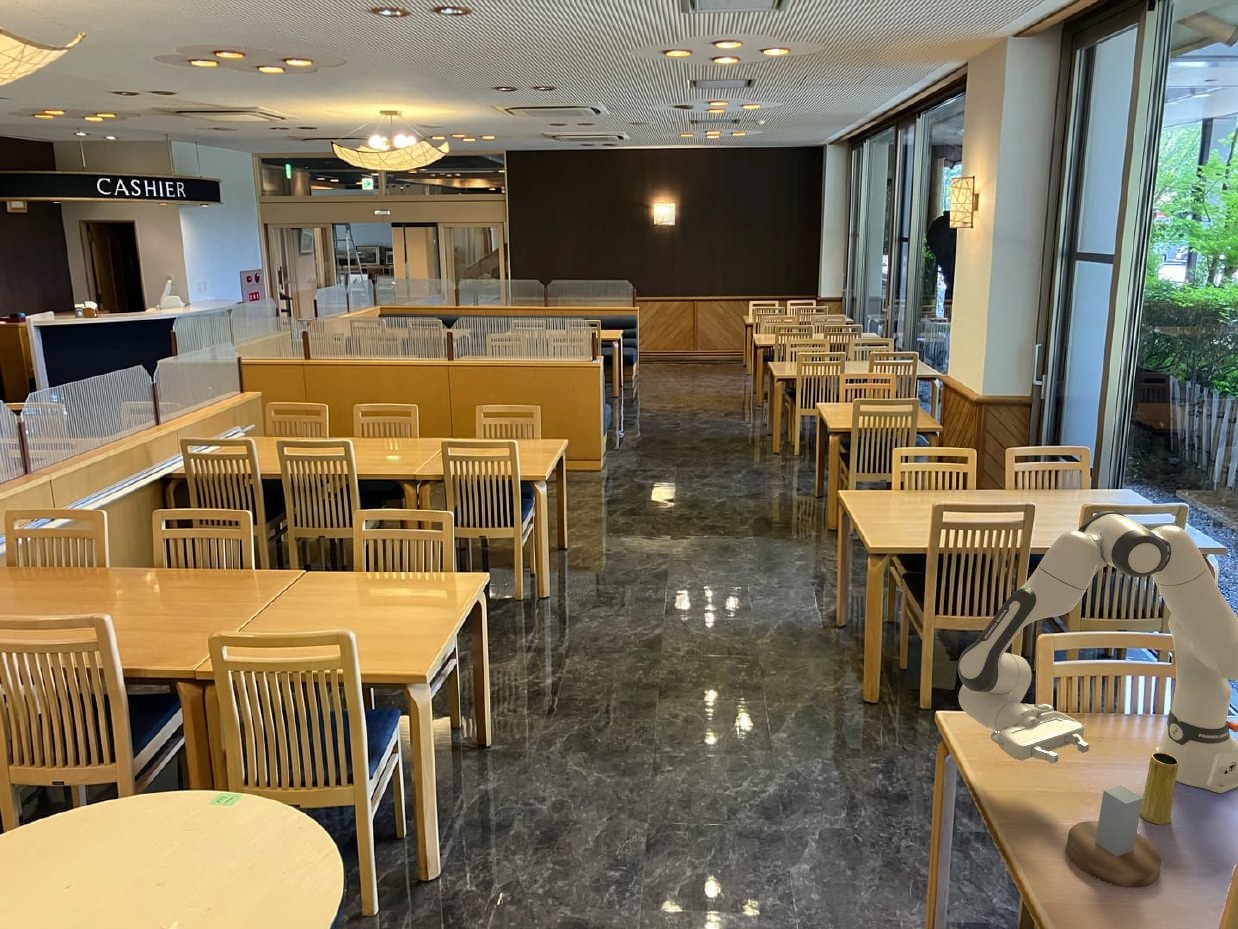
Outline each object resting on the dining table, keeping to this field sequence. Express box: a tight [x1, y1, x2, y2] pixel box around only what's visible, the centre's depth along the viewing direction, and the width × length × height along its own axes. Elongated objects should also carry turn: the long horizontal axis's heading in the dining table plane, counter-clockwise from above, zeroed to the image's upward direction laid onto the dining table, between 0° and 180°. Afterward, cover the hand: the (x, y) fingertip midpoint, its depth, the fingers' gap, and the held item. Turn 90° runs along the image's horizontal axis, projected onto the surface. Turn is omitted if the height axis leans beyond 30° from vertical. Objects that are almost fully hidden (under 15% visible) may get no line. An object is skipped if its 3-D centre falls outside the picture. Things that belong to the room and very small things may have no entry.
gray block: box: [1095, 784, 1143, 857], centre depth 196 cm, size 5×5×12 cm
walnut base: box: [1065, 820, 1163, 888], centre depth 198 cm, size 17×17×3 cm
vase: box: [1140, 751, 1179, 826], centre depth 211 cm, size 6×6×14 cm
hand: (1071, 754), depth 208 cm, fingers open, 8 cm apart
